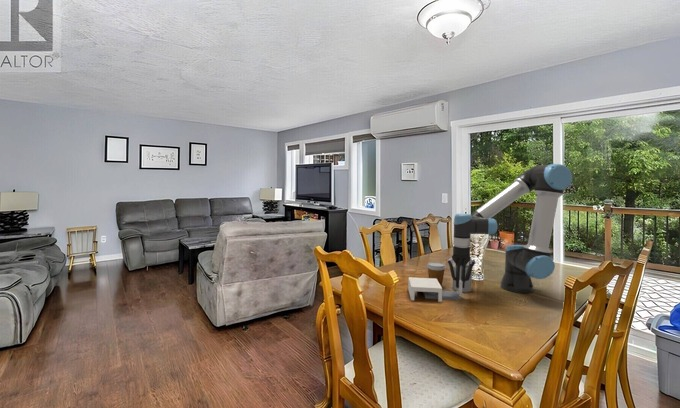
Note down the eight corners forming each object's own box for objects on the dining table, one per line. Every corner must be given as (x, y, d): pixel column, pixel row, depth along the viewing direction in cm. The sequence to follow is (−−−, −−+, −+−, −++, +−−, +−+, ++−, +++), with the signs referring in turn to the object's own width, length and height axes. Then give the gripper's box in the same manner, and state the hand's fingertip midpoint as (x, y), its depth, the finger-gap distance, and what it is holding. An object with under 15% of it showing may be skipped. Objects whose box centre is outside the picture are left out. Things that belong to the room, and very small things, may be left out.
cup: (469, 293, 160) (470, 269, 159) (450, 289, 165) (451, 266, 164) (472, 287, 168) (473, 265, 167) (454, 284, 173) (455, 263, 172)
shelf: (436, 290, 163) (436, 278, 162) (441, 302, 148) (442, 288, 147) (408, 289, 164) (408, 277, 164) (411, 300, 150) (411, 286, 149)
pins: (415, 292, 160) (415, 284, 160) (417, 297, 153) (417, 288, 153) (411, 292, 160) (411, 283, 160) (413, 297, 153) (413, 288, 153)
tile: (455, 295, 158) (456, 291, 158) (460, 301, 150) (460, 297, 150) (423, 293, 160) (423, 289, 160) (425, 299, 152) (425, 295, 152)
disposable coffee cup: (446, 289, 164) (446, 267, 164) (426, 288, 166) (427, 266, 165) (443, 284, 174) (444, 262, 173) (425, 282, 176) (426, 261, 175)
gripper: (473, 245, 155) (471, 292, 157) (445, 244, 157) (444, 291, 158) (478, 248, 148) (476, 297, 149) (449, 247, 149) (447, 296, 151)
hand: (459, 294), depth 154 cm, fingers closed
